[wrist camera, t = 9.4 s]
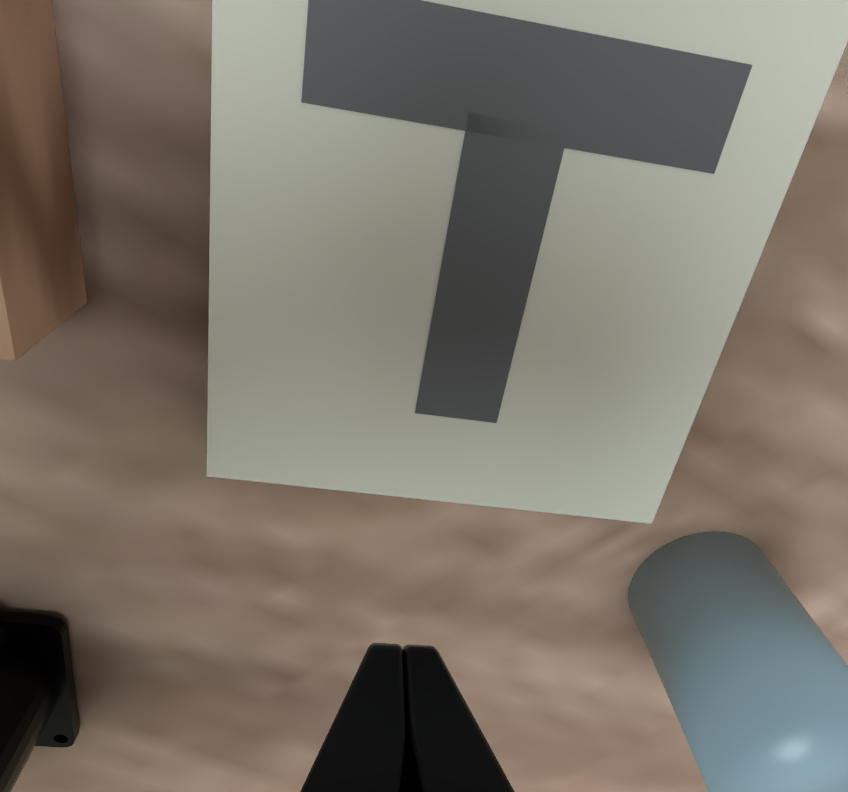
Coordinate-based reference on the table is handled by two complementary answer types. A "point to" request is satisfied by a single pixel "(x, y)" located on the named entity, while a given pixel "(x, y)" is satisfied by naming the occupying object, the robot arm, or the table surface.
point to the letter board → (491, 235)
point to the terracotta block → (34, 184)
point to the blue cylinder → (743, 667)
